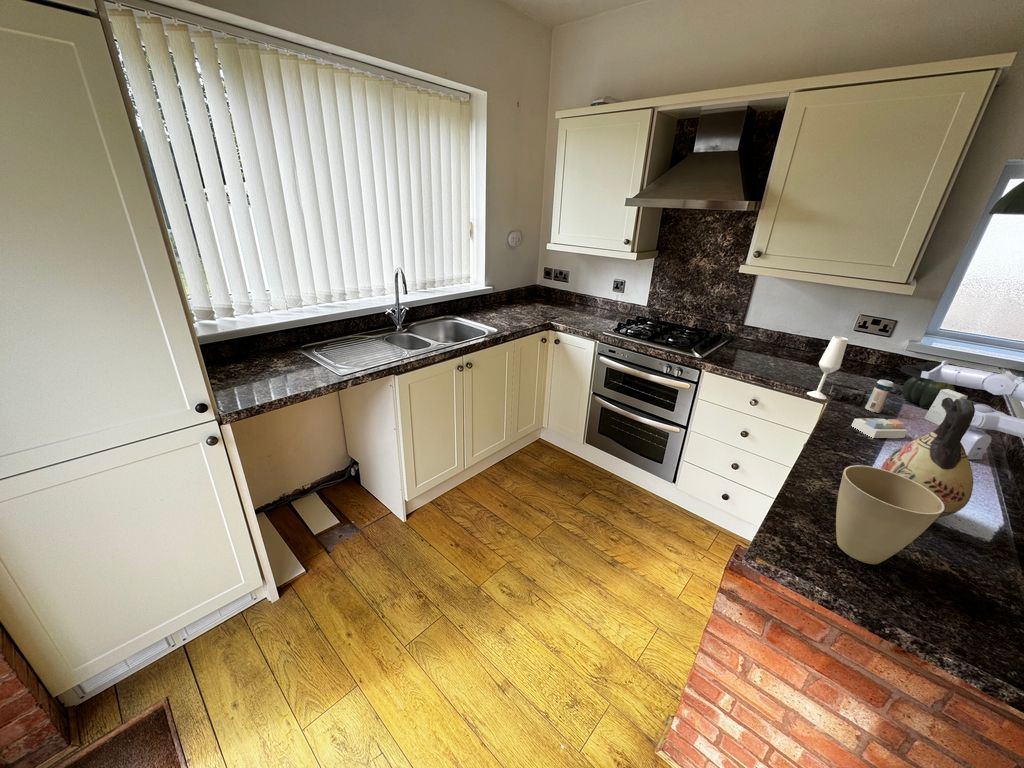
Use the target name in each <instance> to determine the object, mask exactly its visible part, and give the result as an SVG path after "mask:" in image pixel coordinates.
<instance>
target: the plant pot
mask: <svg viewBox="0 0 1024 768" xmlns="http://www.w3.org/2000/svg"><path fill="white" fill-rule="evenodd" d="M837 495H838V496H837V501H836V515H835V533H836V537H835V538H836V543H837V546H838V548H839V549H840V550H842V551H843V552H844V553H845V554H846V555H848V556H849V557H851V558H852V559H855V560H857V561H859V562H862V563H865V564H868V565H879V564H880V563H882V562H885V561H886V560H888V559H890V558H891V557H893V556H894V555H896V554H897V553H899V552H901V550H903V549H904V548H906V547H907V546H908V545H910V544H912V542H914V541H915V540H916V539H917V538H918V537H919V536H920V535H922V534H923V533H924V532H925V531H926V530H927V529H928V528H929V527H930V526H931V525H932V524H933V523H935V522H936V521H937V520H938V518H939V517H938V516H939V515H940V514H941V513H942V512H943V511H944V509H945V507H944V504H943V502H942V501H941V500H940V499H939V498H938V497H937V496H936V495H935V494H934V493H933V492H931V491H930V490H928V489H927V488H925V487H923V486H922V485H920V484H918V483H916V482H914V481H912V480H910V479H908V478H906V477H903V476H901V475H898V474H895V473H893V472H890V471H887V470H883V469H880V467H879V468H878V467H874V466H869V465H859V464H858V465H856V464H855V465H854V464H853V465H850V466H847V467H845V468H844V470H843V473H842V477H841V480H840V485H839V489H838V494H837ZM936 519H937V520H936ZM935 520H936V521H935ZM934 521H935V522H934Z"/></svg>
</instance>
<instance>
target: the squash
mask: <svg viewBox="0 0 1024 768" xmlns="http://www.w3.org/2000/svg"><path fill="white" fill-rule="evenodd" d="M943 389H949V390H952V391H955V392H957V391H956V389H955V386H954V385H953V384H948V383H943V382H936V381H933V380H931V379H926V378H925V380H924V381H923V382H920V381H918V380H917V379H916V378H914V377H912V376H911V377H910V378H909V379H907V380H906V381H905V382H904V384H903V386H902V390H901V393H902V394H901V395H902V397H903V398H904V399H905V400H906V401H907V402H910V401H911V403H916V404H919V407H920V408H922V409H930V407H931V406H932V404H933V402H934V401H935V399H936V397H937V396H938V394H939V392H940V390H943Z"/></svg>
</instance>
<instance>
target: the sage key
mask: <svg viewBox="0 0 1024 768" xmlns="http://www.w3.org/2000/svg"><path fill="white" fill-rule="evenodd" d="M878 421H880V422H882V423H884V425H883V427H882V428H884V429H892V427H893V425H894V423H892V422H890V421H888V419H885V418H879V419H878Z"/></svg>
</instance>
